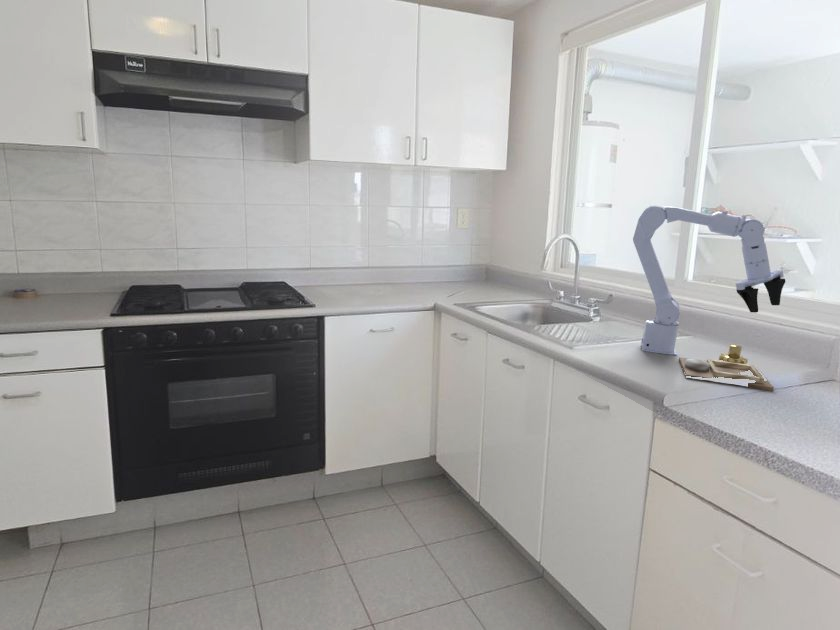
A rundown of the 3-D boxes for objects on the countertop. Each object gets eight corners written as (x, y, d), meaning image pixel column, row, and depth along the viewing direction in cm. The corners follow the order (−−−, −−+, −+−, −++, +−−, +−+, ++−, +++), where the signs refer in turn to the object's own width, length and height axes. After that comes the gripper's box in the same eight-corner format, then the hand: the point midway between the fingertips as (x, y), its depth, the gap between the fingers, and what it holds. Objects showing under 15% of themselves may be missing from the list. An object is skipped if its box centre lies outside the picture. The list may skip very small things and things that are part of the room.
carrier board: (685, 378, 144) (687, 369, 143) (678, 360, 158) (680, 352, 158) (772, 391, 138) (774, 381, 137) (757, 371, 152) (758, 362, 152)
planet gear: (721, 364, 157) (724, 347, 156) (716, 356, 164) (719, 340, 163) (749, 368, 155) (752, 351, 154) (743, 360, 162) (746, 344, 160)
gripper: (747, 267, 147) (756, 316, 149) (789, 254, 151) (798, 302, 152) (726, 268, 154) (735, 314, 156) (767, 255, 157) (775, 301, 159)
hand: (765, 308), depth 154 cm, fingers open, 7 cm apart
